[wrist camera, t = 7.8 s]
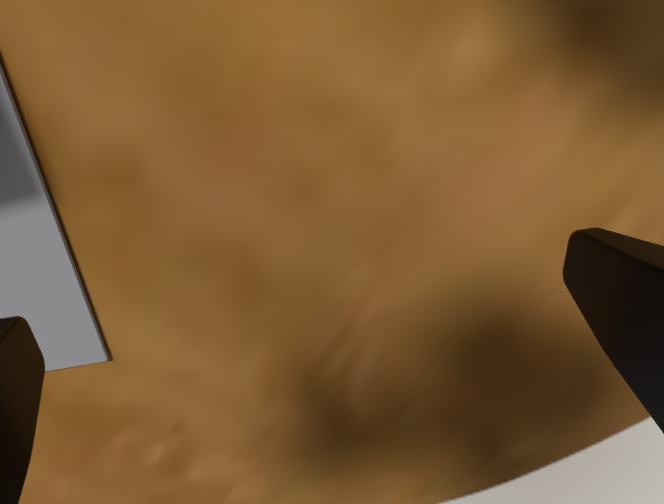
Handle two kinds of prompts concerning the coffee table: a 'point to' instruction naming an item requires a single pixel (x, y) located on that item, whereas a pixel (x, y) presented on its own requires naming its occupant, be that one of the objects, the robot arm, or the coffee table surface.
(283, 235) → the coffee table surface
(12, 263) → the mat
